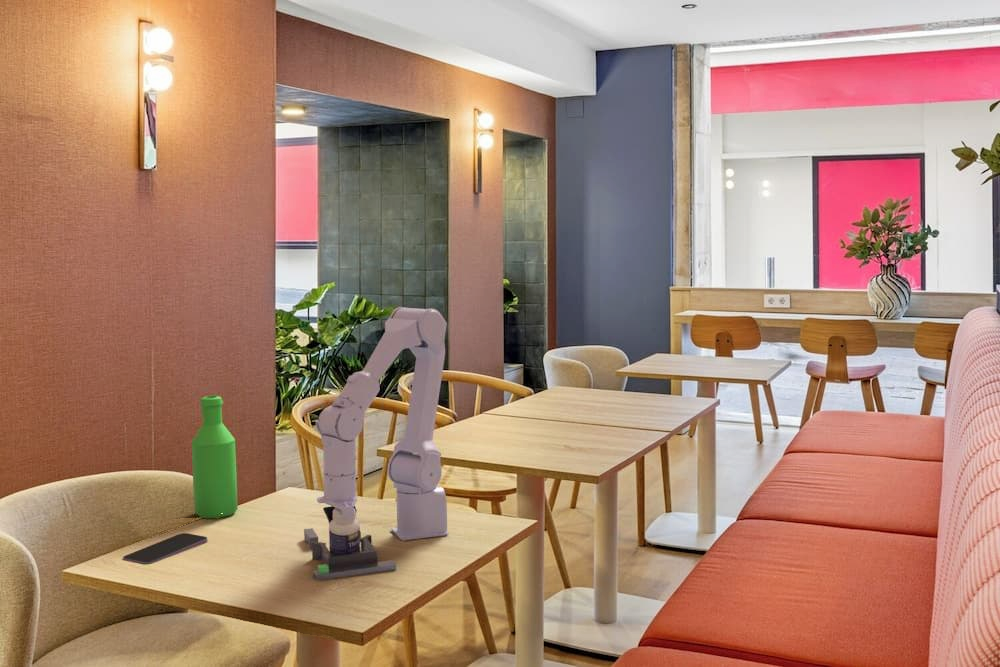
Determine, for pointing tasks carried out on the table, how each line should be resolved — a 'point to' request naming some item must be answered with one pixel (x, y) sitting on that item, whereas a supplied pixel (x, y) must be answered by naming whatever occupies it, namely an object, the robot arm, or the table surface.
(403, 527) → the robot arm
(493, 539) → the table surface
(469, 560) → the table surface
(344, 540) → the pill bottle
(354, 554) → the grey bottle cradle
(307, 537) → the grey u-shaped piece
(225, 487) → the bottle
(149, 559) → the smartphone
